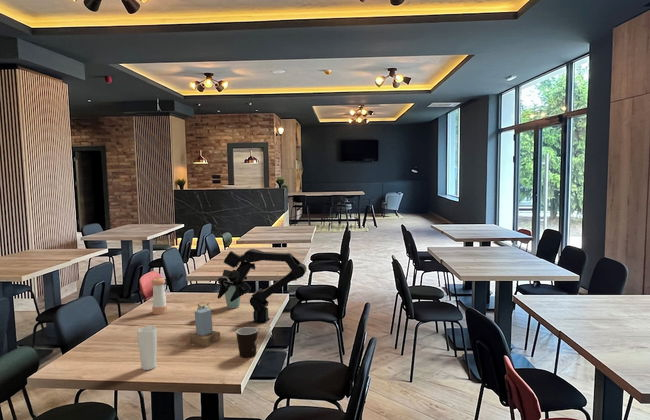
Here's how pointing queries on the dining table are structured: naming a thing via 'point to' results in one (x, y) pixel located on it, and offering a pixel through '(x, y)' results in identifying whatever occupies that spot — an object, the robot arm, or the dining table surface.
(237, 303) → the disposable coffee cup
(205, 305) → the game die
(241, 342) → the coffee mug
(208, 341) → the walnut block
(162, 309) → the salt shaker
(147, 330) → the drinking glass
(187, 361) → the dining table surface
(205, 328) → the blue block
